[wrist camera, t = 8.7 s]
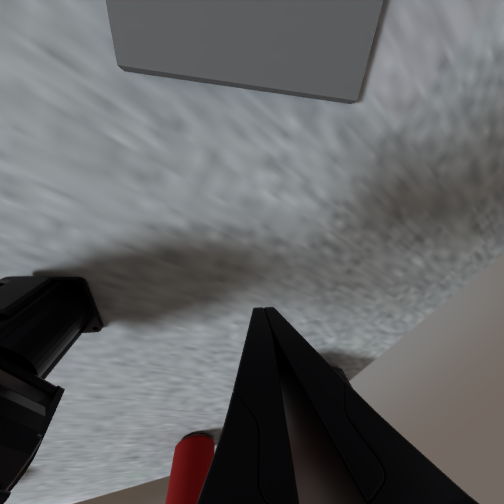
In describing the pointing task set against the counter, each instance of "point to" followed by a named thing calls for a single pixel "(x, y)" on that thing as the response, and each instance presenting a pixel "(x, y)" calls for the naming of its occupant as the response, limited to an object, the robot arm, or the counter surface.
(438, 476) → the robot arm
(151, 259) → the counter surface
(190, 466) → the beverage can
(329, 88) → the mat
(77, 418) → the counter surface
